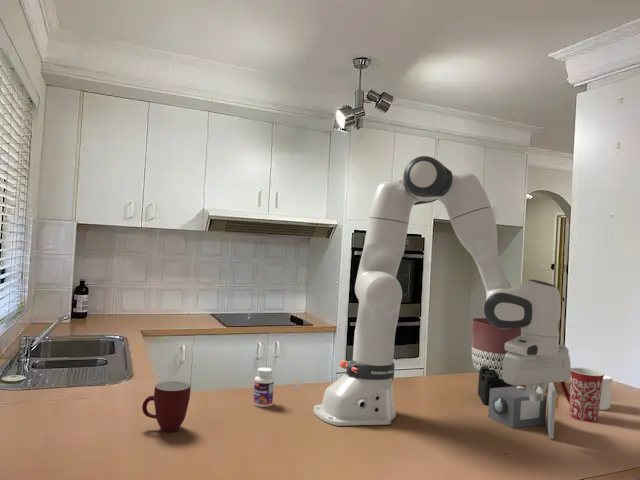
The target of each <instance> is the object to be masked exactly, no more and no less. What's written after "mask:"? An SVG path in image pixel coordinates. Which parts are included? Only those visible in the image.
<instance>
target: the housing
mask: <svg viewBox="0 0 640 480" xmlns="http://www.w3.org/2000/svg"><path fill="white" fill-rule="evenodd" d="M547 404H548V394H546V393H544V394H543V400H542V401H531V400H530V399H529V391H528V389H527V387H525V386H524V385H515V386H514V387H501V388H490V395H489V406H488V413H487V414H488V416H487V417H488V418H490V419H492V420H494V421H496V422H499V423H500V424H502V425H505V426H507V427H509V428H511V429H516V428H517V429H518V428H525V427H526V426H527V427H534V425H535V426H542V424H543V425H546V420H547Z"/></svg>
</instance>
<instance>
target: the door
mask: <svg viewBox="0 0 640 480" xmlns="http://www.w3.org/2000/svg"><path fill="white" fill-rule="evenodd" d="M559 402H560V395H559V393H557V391H556V388H555V382H553V383H548V386H547V404H546V421H545V425H546V428H547V433H548V437H549V439H551V440H554V437H555V435H554V434H555V420H556V409H559V405H560V404H559Z"/></svg>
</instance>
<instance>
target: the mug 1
mask: <svg viewBox="0 0 640 480" xmlns="http://www.w3.org/2000/svg"><path fill="white" fill-rule="evenodd" d="M190 397H191V384H189V383H187V382H185V381H177V380H175V381H173V380H172V381H171V380H170V381H164V382H163V381H162V382H159V383H157V384H155V386H154V393H153V395H149V396H147V397H146V398H145V399H144V401H143V402H142V407H141V409H142V413H143V414H144V415H145V416H146V417H148V418H151V419H156V422H157V424H158V425H159V427H160V430H161V431H163V432H167V433H168V432H169V433H170V432H171V433H173V432H176V431H179V429H180V428H181V426H182V424H183V423H184V420H185V418H186V415H187V412H188V411H187V410H188V407H189V402H190V399H191V398H190ZM149 402H153V403H154V409H155V410H154V411H155V414H153V413H150V412H149V411H148V403H149Z"/></svg>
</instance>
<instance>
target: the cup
mask: <svg viewBox="0 0 640 480" xmlns="http://www.w3.org/2000/svg"><path fill="white" fill-rule="evenodd" d="M612 383H613V377H611V376H609V375H606V374H604V377H603V383H602V390H601V398H600V405H599V411H607V410H609V409H610V407H611V405H612V391H611V390H612Z"/></svg>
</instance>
